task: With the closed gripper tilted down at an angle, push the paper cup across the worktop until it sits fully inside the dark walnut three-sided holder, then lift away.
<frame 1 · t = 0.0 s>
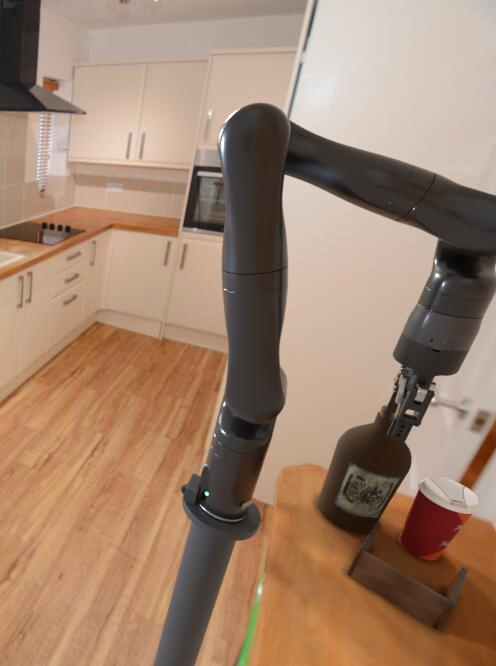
hand: (394, 425, 74), 26 cm above the countertop, tool pointing down, fingers open, 8 cm apart
holder: (398, 582, 77), on the countertop
paper cup: (417, 547, 84), on the countertop
brown bottle: (344, 514, 91), on the countertop
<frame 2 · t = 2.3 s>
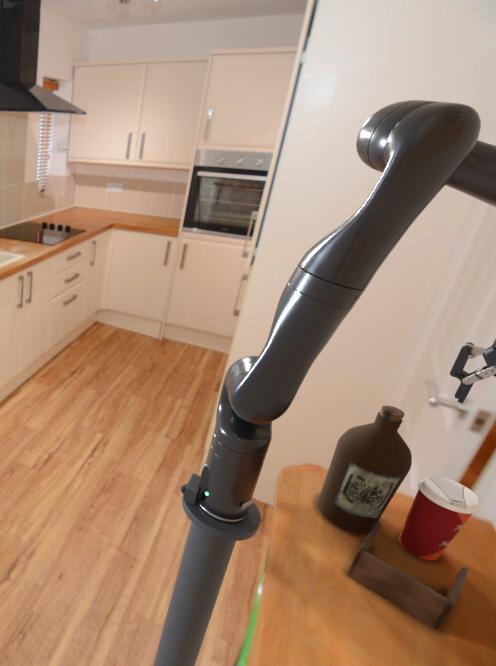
hand: (492, 411, 78), 26 cm above the countertop, tool pointing down, fingers open, 7 cm apart
nothing on the countertop moved.
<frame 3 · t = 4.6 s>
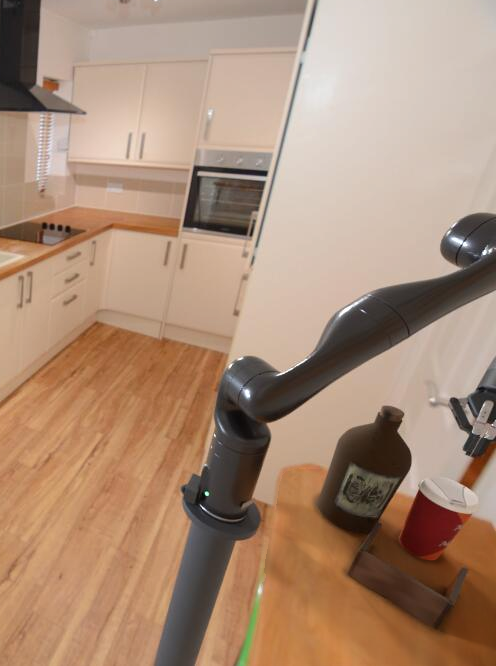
hand: (470, 455, 85), 14 cm above the countertop, tool tilted 45°, fingers closed
nothing on the countertop moved.
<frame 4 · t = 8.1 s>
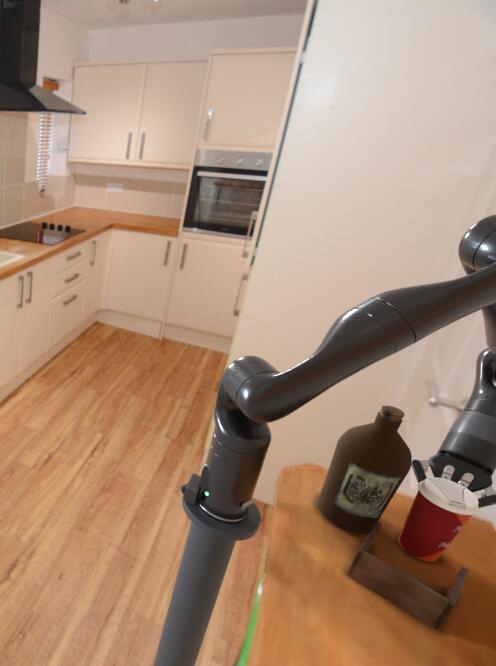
hand: (432, 521, 84), 4 cm above the countertop, tool tilted 45°, fingers closed
paper cup: (417, 548, 84), on the countertop, touching gripper
everything else where it was.
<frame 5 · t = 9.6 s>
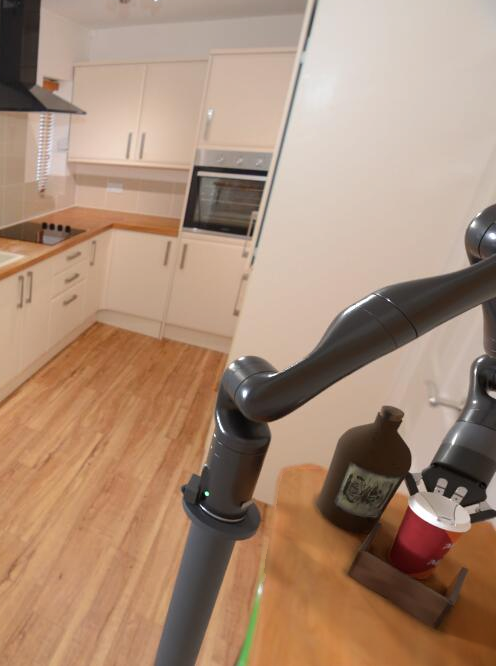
hand: (424, 537, 81), 4 cm above the countertop, tool tilted 45°, fingers closed
paper cup: (407, 565, 81), on the countertop, touching gripper
everything else where it was.
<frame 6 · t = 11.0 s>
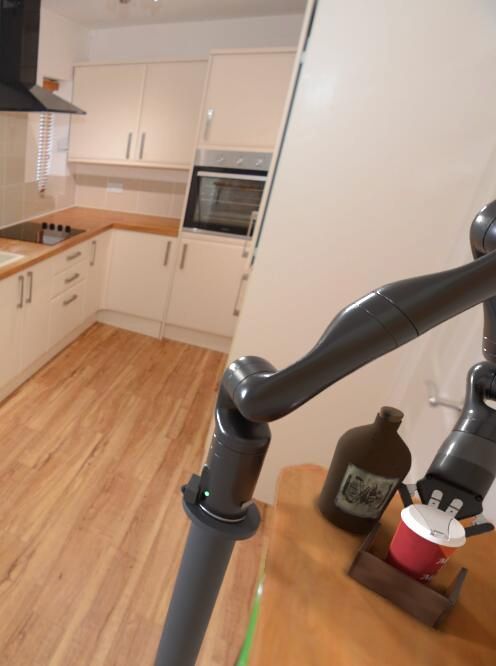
hand: (418, 550, 78), 4 cm above the countertop, tool tilted 45°, fingers closed
paper cup: (401, 579, 78), on the countertop, touching gripper
brown bottle: (344, 514, 91), on the countertop, touching hand
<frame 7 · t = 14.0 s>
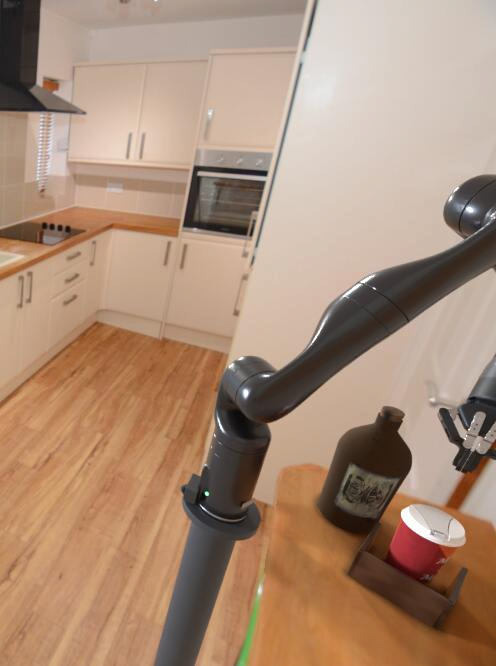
hand: (461, 471, 78), 16 cm above the countertop, tool tilted 45°, fingers closed
paper cup: (401, 579, 78), on the countertop
brown bottle: (344, 514, 91), on the countertop
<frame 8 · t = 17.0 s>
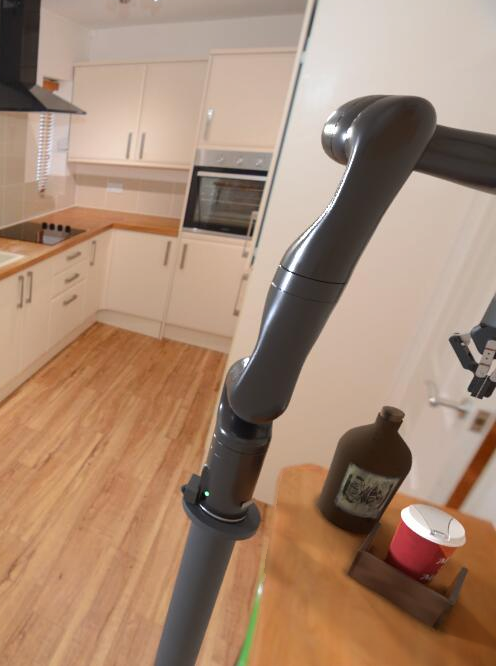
hand: (477, 396, 77), 29 cm above the countertop, tool pointing down, fingers closed
nothing on the countertop moved.
at the end: paper cup 1.2 cm from the holder (horizontally); paper cup tilted 0° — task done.
